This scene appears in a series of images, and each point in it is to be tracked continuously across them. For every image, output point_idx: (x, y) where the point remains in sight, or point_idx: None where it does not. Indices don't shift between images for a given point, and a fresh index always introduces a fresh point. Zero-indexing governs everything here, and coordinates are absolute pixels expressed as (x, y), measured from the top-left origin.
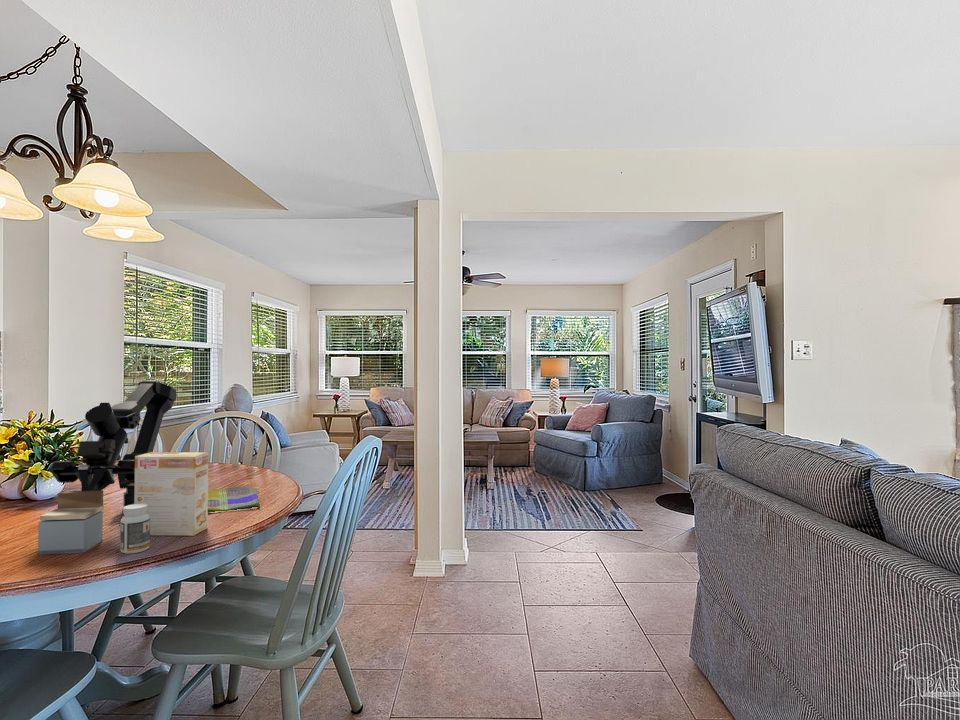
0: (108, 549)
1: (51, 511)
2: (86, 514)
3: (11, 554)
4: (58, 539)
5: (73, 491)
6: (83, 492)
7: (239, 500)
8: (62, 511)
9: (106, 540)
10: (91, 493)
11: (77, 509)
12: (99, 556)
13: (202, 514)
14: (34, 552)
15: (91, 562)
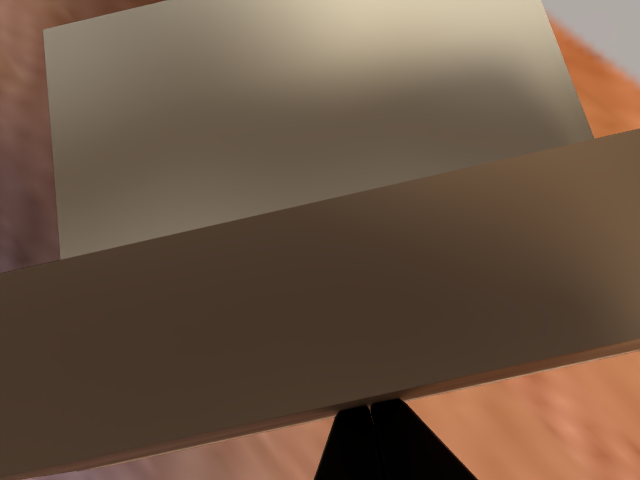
0: (53, 252)
1: (553, 83)
2: (47, 51)
3: (636, 99)
4: None
5: (557, 316)
6: (240, 243)
7: None
8: (409, 99)
9: (191, 449)
10: (72, 259)
11: (292, 206)
12: (35, 129)
13: None
14: None
15: (24, 41)
